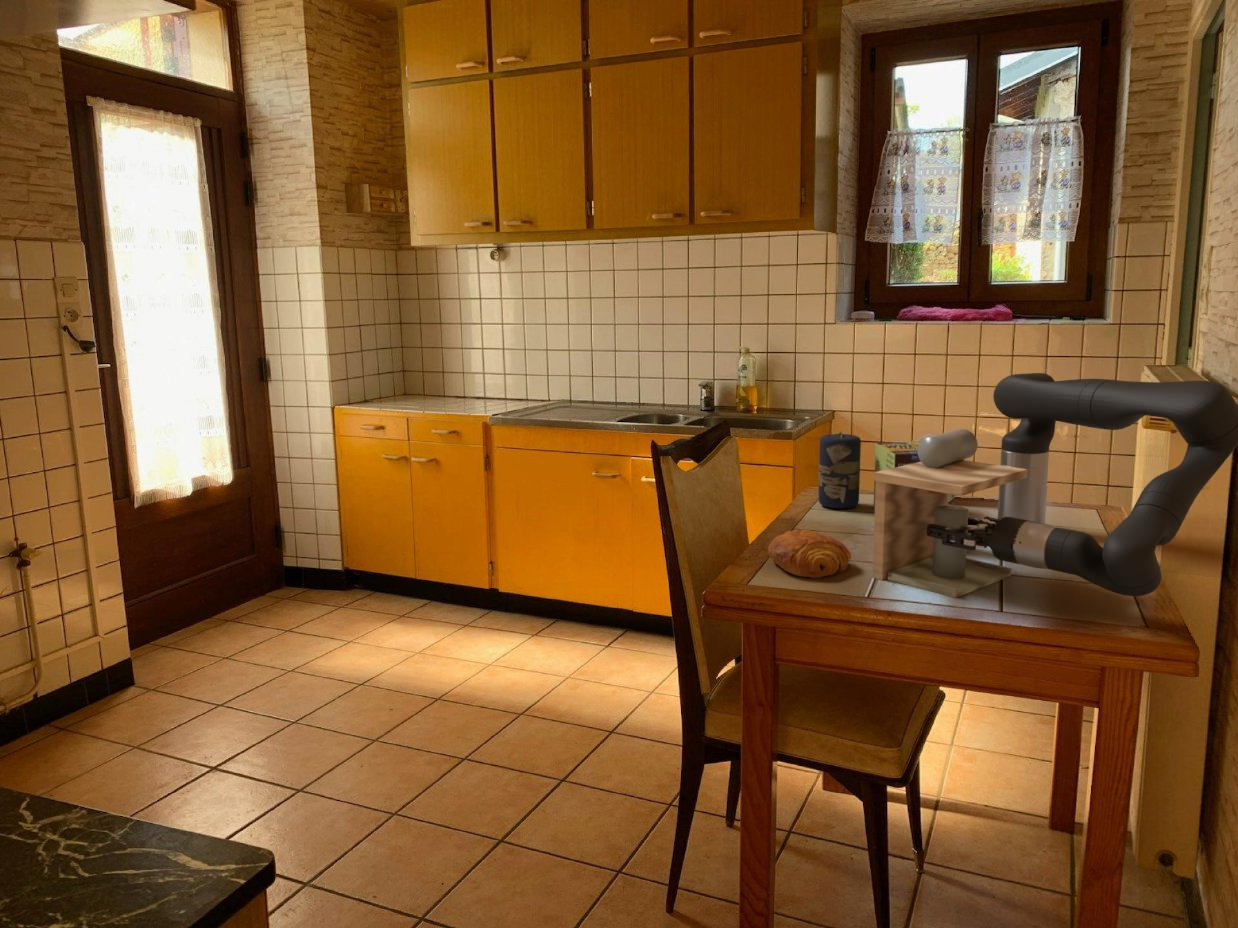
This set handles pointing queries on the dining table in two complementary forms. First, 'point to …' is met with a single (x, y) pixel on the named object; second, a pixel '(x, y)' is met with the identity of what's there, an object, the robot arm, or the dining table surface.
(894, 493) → the wooden shelf stand
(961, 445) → the grey lying cylinder
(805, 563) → the croissant
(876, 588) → the dining table surface
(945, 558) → the grey rounded cylinder
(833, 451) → the canister
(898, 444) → the protein box
